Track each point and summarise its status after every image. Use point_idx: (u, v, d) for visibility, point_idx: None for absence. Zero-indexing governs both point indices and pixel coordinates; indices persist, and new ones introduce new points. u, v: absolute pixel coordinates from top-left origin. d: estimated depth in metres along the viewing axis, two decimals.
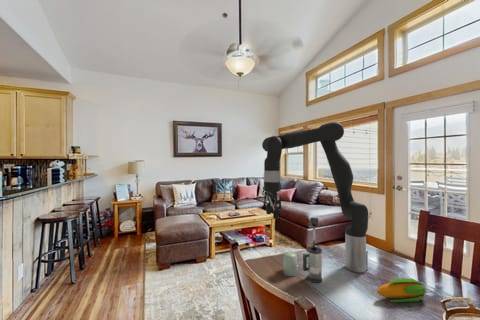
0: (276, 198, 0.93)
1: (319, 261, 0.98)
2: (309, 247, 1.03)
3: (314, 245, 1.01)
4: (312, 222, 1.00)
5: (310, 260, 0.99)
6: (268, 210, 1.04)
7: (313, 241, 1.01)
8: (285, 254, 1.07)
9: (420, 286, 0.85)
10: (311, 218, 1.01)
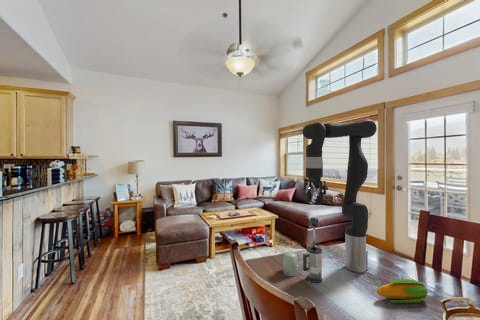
0: (321, 183, 0.94)
1: (319, 261, 0.98)
2: (309, 247, 1.03)
3: (314, 245, 1.01)
4: (312, 222, 1.00)
5: (310, 260, 0.99)
6: (309, 197, 1.05)
7: (313, 241, 1.01)
8: (285, 254, 1.07)
9: (421, 287, 0.84)
10: (311, 218, 1.01)
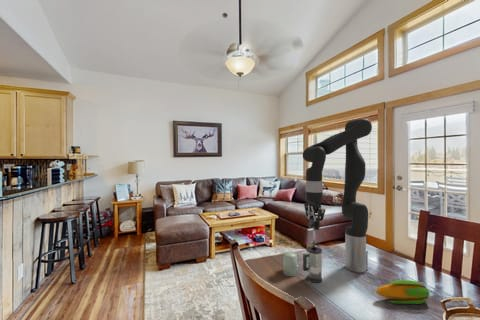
0: (320, 212, 0.95)
1: (319, 261, 0.98)
2: (309, 247, 1.03)
3: (314, 245, 1.01)
4: (312, 222, 1.00)
5: (310, 260, 0.99)
6: None
7: (313, 241, 1.01)
8: (285, 254, 1.07)
9: (423, 289, 0.83)
10: (311, 218, 1.01)
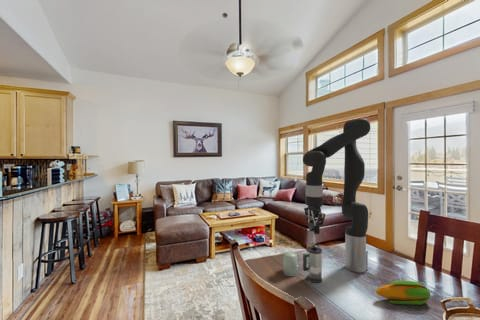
0: (320, 216, 0.95)
1: (319, 261, 0.98)
2: (309, 247, 1.03)
3: (314, 249, 1.01)
4: (312, 226, 1.00)
5: (310, 260, 0.99)
6: None
7: (313, 245, 1.01)
8: (285, 254, 1.07)
9: (423, 290, 0.83)
10: (311, 222, 1.01)
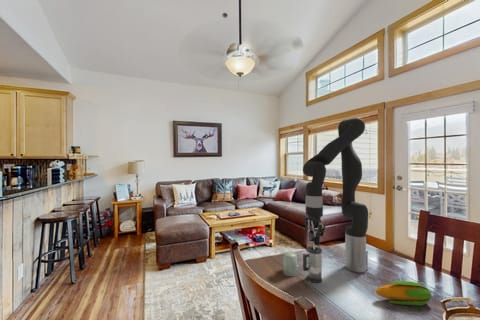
0: (320, 227, 0.95)
1: (319, 261, 0.98)
2: (309, 247, 1.03)
3: None
4: (312, 237, 1.00)
5: (310, 260, 0.99)
6: None
7: None
8: (285, 254, 1.07)
9: (424, 290, 0.82)
10: (311, 233, 1.01)
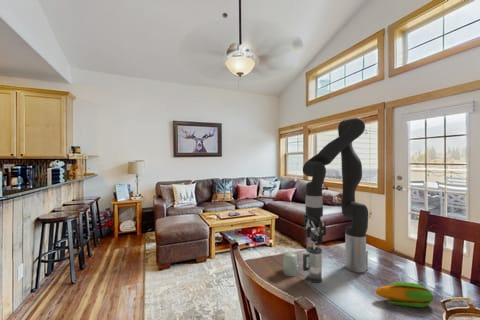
0: (321, 224, 0.94)
1: (319, 261, 0.98)
2: (309, 247, 1.03)
3: None
4: (312, 237, 1.00)
5: (310, 260, 0.99)
6: (309, 233, 1.05)
7: None
8: (285, 254, 1.07)
9: (425, 292, 0.81)
10: (311, 233, 1.01)
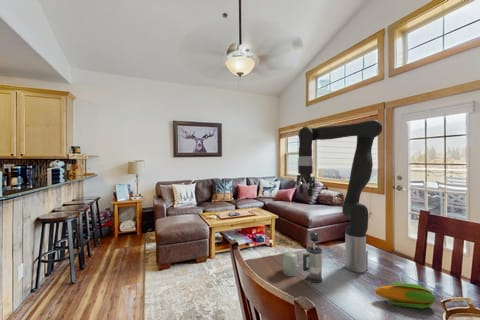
0: (311, 178, 1.12)
1: (319, 261, 0.98)
2: (309, 247, 1.03)
3: None
4: (312, 237, 1.00)
5: (310, 260, 0.99)
6: (301, 190, 1.23)
7: None
8: (285, 254, 1.07)
9: (426, 294, 0.80)
10: (311, 233, 1.01)
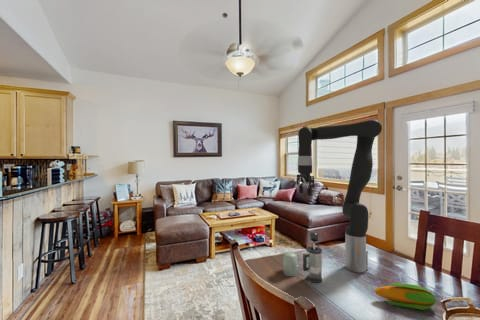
0: (310, 178, 1.13)
1: (319, 261, 0.98)
2: (309, 247, 1.03)
3: None
4: (312, 237, 1.00)
5: (310, 260, 0.99)
6: (301, 190, 1.24)
7: None
8: (285, 254, 1.07)
9: (426, 295, 0.80)
10: (311, 233, 1.01)
